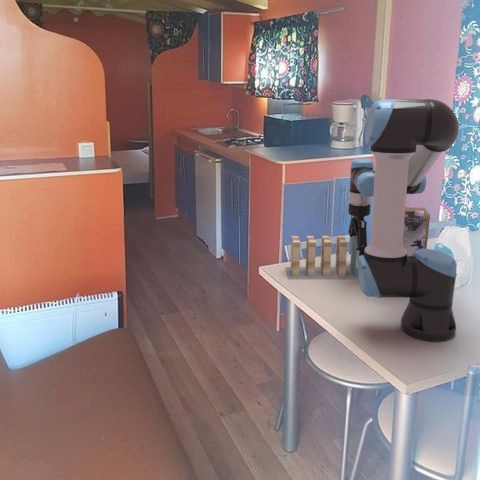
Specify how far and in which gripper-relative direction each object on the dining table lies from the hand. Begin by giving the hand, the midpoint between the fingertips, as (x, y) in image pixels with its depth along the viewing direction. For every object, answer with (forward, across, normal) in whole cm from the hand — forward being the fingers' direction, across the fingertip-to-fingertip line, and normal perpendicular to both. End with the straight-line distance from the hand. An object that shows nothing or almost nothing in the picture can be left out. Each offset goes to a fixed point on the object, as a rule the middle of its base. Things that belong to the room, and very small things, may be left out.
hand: (356, 260), depth 202 cm
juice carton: (+5, -12, -15) cm, 20 cm away
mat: (+5, 0, +9) cm, 10 cm away
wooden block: (+5, +14, -24) cm, 28 cm away
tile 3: (+5, 0, +11) cm, 12 cm away
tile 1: (+5, 0, +22) cm, 22 cm away
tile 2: (+5, 0, +16) cm, 17 cm away
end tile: (+5, 0, 0) cm, 5 cm away
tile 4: (+5, 0, +6) cm, 7 cm away
